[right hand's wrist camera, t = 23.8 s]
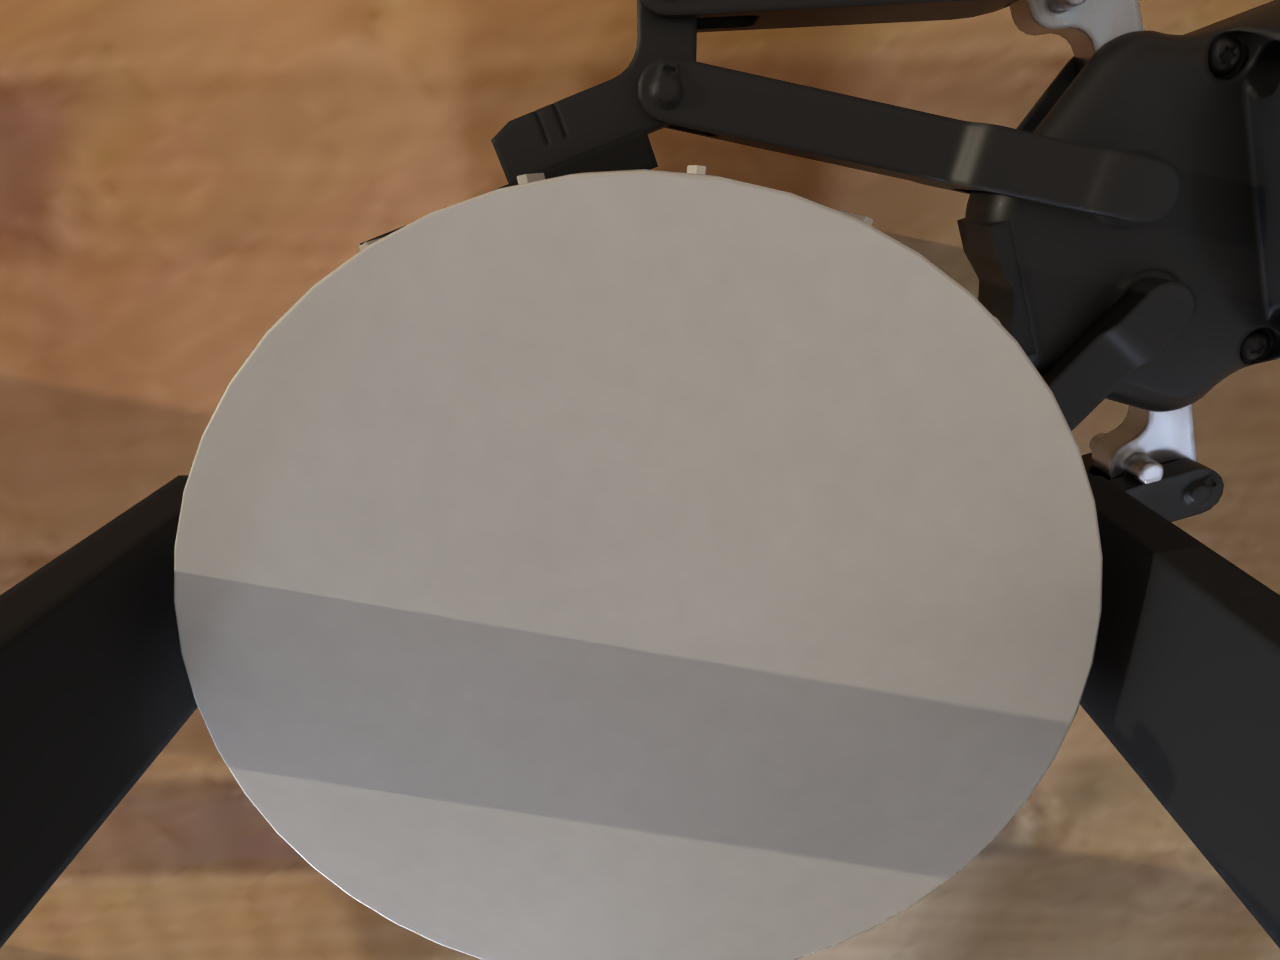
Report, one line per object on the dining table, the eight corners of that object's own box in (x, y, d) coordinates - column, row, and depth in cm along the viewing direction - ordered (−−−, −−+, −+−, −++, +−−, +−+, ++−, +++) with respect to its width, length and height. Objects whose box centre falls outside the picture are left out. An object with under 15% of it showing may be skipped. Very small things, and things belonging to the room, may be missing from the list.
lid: (1091, 746, 13) (1178, 857, 11) (464, 936, 15) (435, 1066, 13) (910, 11, 10) (989, -33, 7) (94, 366, 11) (-38, 415, 9)
